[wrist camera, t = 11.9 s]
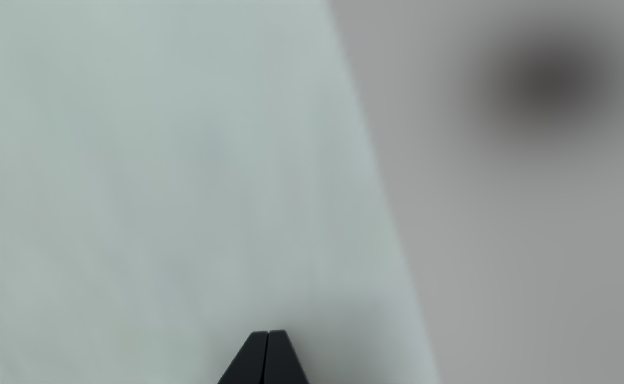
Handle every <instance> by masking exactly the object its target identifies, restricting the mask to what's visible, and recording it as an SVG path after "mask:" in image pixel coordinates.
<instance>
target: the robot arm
mask: <svg viewBox="0 0 624 384" xmlns="http://www.w3.org/2000/svg"><path fill="white" fill-rule="evenodd" d="M217 384H309V381H308V379H307V377H306V375H305V372H304V370H303V368H302V366H301V364H300V361H299V359H298V357H297V355H296V352H295V350H294V348H293V346H292V343H291V341H290V339H289V337H288V334H287V332H286V331H285V330H272V331H270V332H269V333H268V332H267V331H256V332H252V333H251V334H250V335H249V337H248V338H247V340H246V341H245V343H244V344H243V346H242V347H241V349H240V350H239V352H238V353H237V355H236V356H235V358H234V359H233V361H232V362H231V364H230V365H229V367H228V368H227V370H226V371H225V373H224V374H223V376H222V377H221V379H220V380H219V382H218V383H217Z"/></svg>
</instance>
